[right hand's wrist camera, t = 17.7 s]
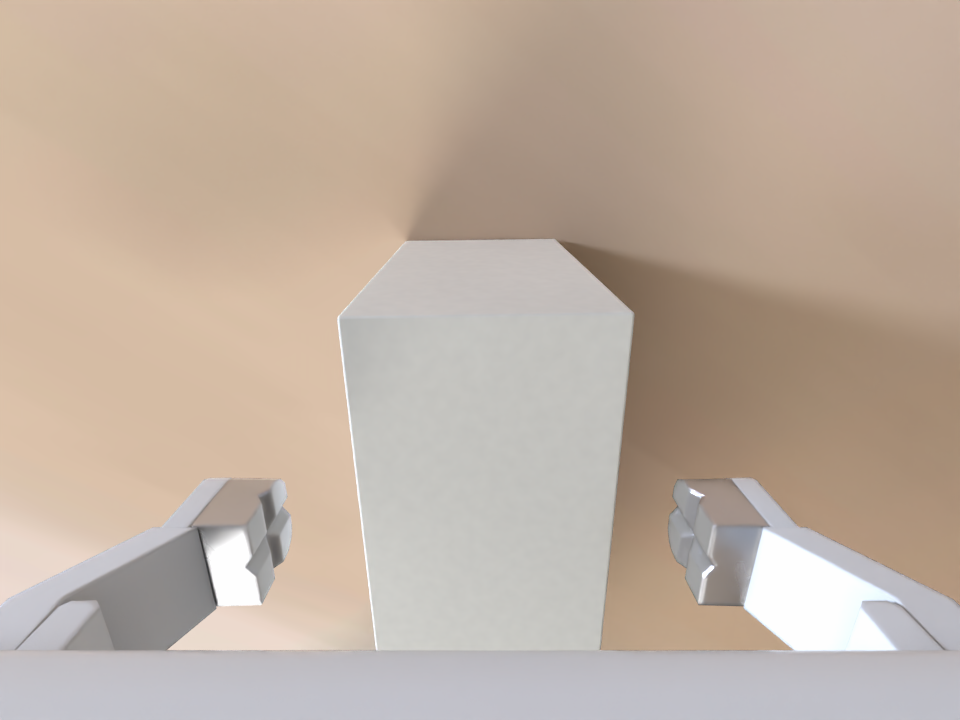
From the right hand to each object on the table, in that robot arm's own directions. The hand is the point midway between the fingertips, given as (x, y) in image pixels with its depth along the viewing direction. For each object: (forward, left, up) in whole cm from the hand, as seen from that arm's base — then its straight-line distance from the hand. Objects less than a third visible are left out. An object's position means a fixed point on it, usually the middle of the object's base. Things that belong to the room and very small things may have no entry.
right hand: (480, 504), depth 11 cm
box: (+6, +6, -13) cm, 16 cm away
